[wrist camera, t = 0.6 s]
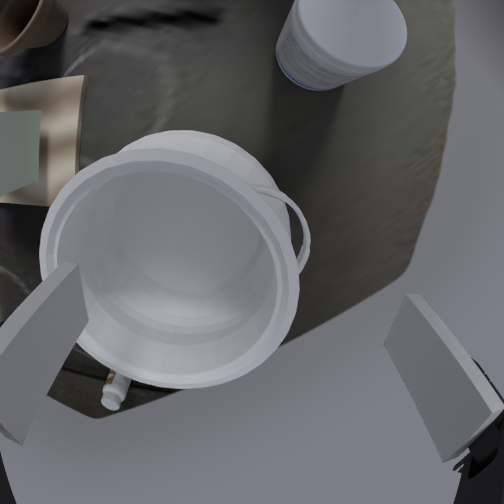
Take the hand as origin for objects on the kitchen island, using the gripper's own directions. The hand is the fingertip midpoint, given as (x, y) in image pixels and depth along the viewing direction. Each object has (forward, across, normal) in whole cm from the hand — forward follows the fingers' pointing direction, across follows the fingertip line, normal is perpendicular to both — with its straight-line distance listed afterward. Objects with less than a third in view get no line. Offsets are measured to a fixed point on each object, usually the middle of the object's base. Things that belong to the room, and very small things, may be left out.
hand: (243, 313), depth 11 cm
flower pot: (+27, -30, +22) cm, 46 cm away
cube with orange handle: (+23, -31, +4) cm, 39 cm away
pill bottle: (+27, -19, -37) cm, 50 cm away
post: (+27, -31, +4) cm, 41 cm away
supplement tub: (+27, +7, +17) cm, 33 cm away
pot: (+27, -6, -6) cm, 28 cm away
